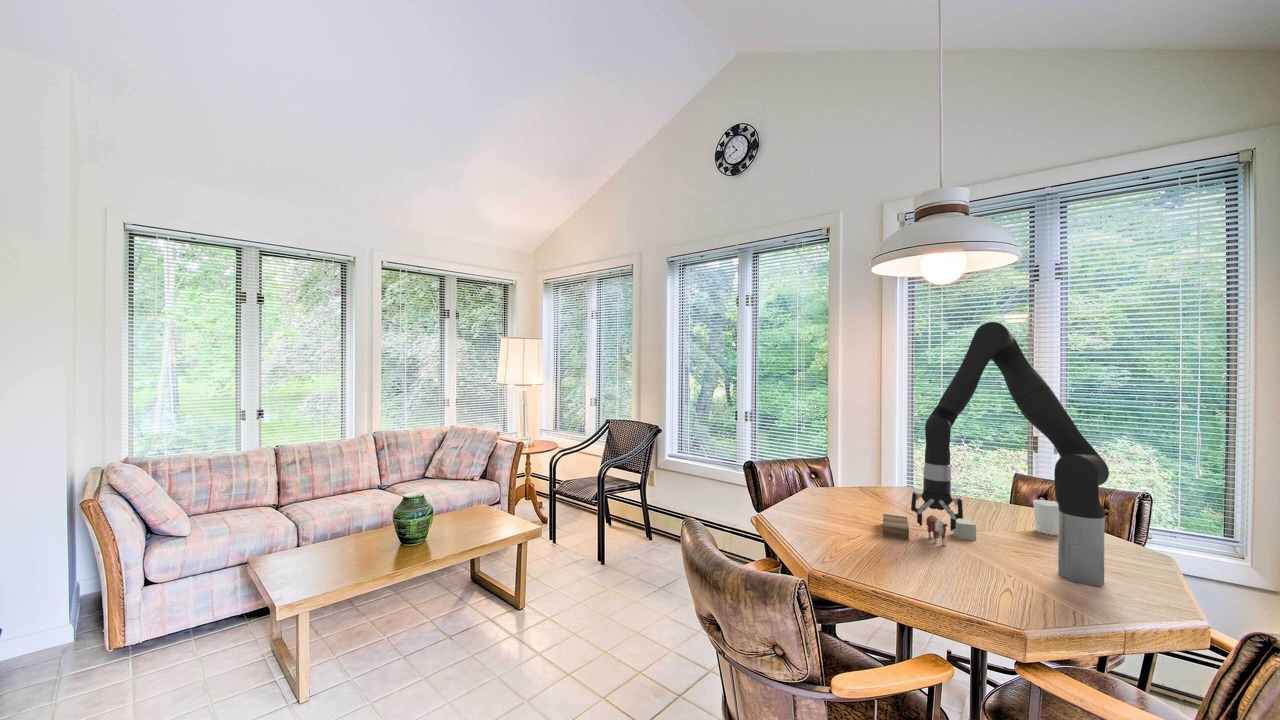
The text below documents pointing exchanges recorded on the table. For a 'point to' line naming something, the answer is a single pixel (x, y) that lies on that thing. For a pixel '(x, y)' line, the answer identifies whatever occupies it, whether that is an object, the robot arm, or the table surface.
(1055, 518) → the light grey block
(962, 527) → the sage cube
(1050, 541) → the table surface
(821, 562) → the table surface
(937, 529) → the bull figurine
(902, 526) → the pedestal
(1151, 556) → the table surface
